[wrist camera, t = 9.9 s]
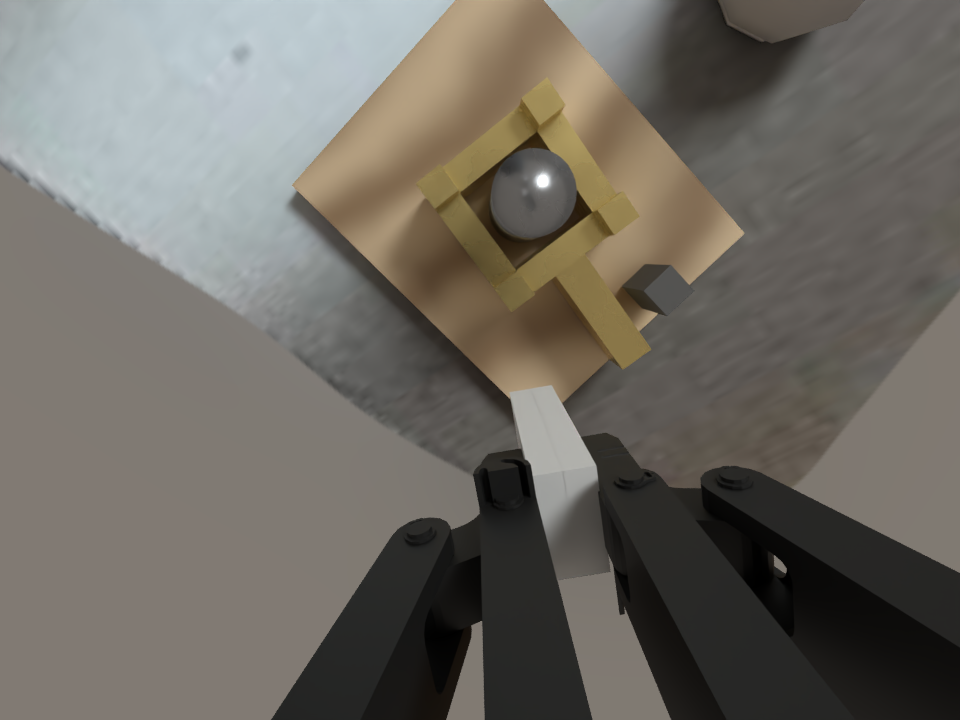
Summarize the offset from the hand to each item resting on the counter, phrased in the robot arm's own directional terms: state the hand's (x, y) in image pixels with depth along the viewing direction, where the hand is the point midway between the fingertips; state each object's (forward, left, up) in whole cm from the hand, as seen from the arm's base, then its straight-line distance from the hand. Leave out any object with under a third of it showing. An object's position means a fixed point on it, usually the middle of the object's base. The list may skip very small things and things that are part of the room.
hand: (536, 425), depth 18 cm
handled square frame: (-2, +6, -15) cm, 17 cm away
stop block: (+3, +9, -16) cm, 18 cm away
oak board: (-6, +7, -17) cm, 19 cm away
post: (-6, +7, -17) cm, 19 cm away
